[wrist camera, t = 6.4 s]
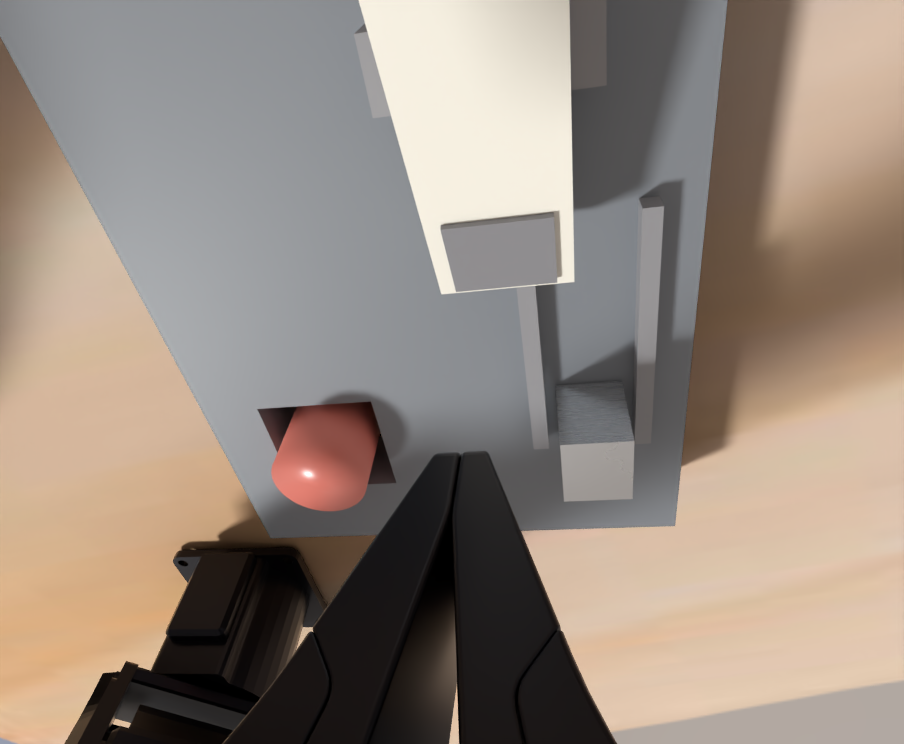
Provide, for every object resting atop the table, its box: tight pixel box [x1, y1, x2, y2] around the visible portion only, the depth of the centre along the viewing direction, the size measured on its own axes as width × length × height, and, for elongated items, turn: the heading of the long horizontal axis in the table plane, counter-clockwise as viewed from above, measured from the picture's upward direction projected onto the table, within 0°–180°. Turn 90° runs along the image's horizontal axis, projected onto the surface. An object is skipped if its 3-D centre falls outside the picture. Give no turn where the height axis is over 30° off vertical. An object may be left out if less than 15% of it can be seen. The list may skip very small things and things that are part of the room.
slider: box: [556, 381, 634, 502], centre depth 19 cm, size 2×2×3 cm
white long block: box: [359, 0, 574, 294], centre depth 11 cm, size 10×3×2 cm, turn 9°
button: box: [271, 402, 380, 511], centre depth 22 cm, size 3×3×4 cm
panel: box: [0, 0, 728, 538], centre depth 18 cm, size 22×16×4 cm
